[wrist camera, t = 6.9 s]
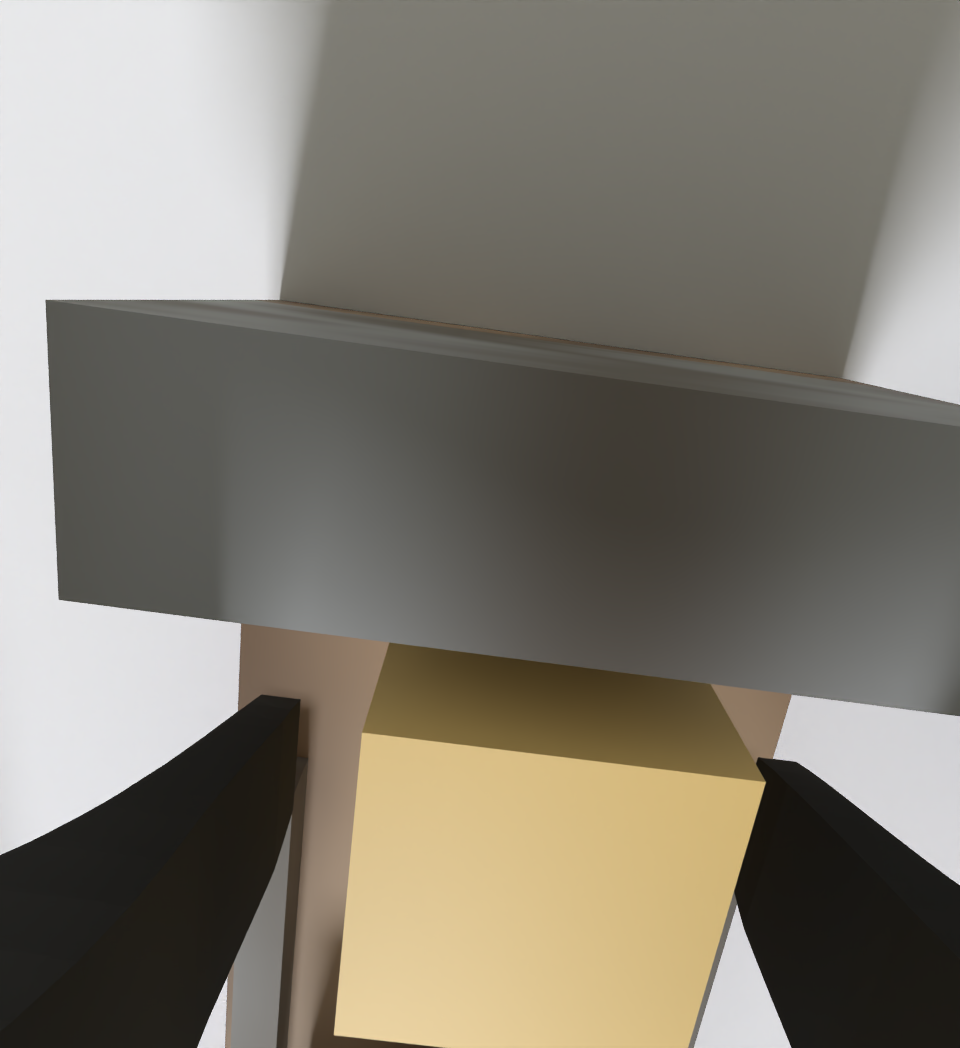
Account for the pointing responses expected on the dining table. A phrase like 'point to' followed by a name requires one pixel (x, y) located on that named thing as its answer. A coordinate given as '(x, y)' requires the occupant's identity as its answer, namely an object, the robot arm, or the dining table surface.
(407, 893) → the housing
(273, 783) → the robot arm
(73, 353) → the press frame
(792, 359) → the dining table surface
